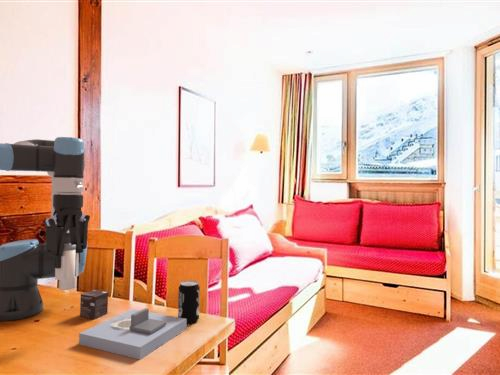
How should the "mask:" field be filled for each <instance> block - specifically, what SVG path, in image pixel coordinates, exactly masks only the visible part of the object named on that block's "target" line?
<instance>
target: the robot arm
mask: <svg viewBox="0 0 500 375" xmlns="http://www.w3.org/2000/svg"><path fill="white" fill-rule="evenodd" d="M85 152H86V149H85V141H84V139H82V138H78V137H70V136H58V137H55V139H54V140H50V139H39V138H37V139H27V140H20V141H16V142H15V143H9V142H8V143H7V142H6V143H0V171H6V172H44V173H45V172H47V175H48V176H49V177H50V178H51V200H50V202H51V203H50V205H51V206H50V213H51V214H50V217H45V218H44V219H43V223H44V226H45V243H40V241H39V240H38V239H37V238H33V239H30V238H29V239H22V240H16V241H12V242H11V241H10V242H6V243H4V244H1V245H0V322H3V321H4V322H5V321H8V322H9V321H16V320H22V319H26V318H30V317H33V316H36V315H39V314H40V313H42V312H43V311H44V301H43V299H42V298H43V297H42V296H41V295H42V294H41V293H40V290H39V287H38V280H40V279H51V278H54V279H55V280H57V281H59V280H65V256H62V255H63V249H64V244H76V254H75V278H76V277H79V275H81V274H82V273H84V272H85V266H86V261H87V260H86V259H87V254H88V253H87V252H88V228H89V221H90V218H91V216H90V215H89V214H84V213H83V211H82V208H83V207H84V194H83V192H84V186H85V185H84V183H85V182H84V181H85V179H84V177H85V175H84V171H85V169H86V168H85V167H86V160H85Z"/></svg>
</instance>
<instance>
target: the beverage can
mask: <svg viewBox="0 0 500 375" xmlns="http://www.w3.org/2000/svg"><path fill="white" fill-rule="evenodd" d="M200 287H201V286H200V284H199V282H198V280H197V281H196V280H188V279H187V280H182V281H181V282H179V286H178V291H177V292H178V297H177V298H178V299H177V300H178V301H177V303H178V305H177V306H178V307H177V308H178V309H177V317H179V318H185V319H187V325H189V324H195V323H197V322H198V320H199V318H200V296H201V295H200V294H201V293H200V290H201V288H200Z"/></svg>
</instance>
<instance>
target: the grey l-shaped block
mask: <svg viewBox="0 0 500 375" xmlns="http://www.w3.org/2000/svg"><path fill="white" fill-rule="evenodd" d="M139 310H140V311H138V312H136V313H134V314H132V315H131V326H130V330H135V331H140V332H144V333H149V334H151V333H153V332H155V331H156V330H158V329H160V328H162V327H163V326H165V325H166V322H165V321H159V320H154V319H149V312H150V309H149V308H147V307H146V308H143V309H139Z"/></svg>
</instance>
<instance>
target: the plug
mask: <svg viewBox="0 0 500 375" xmlns="http://www.w3.org/2000/svg"><path fill="white" fill-rule="evenodd" d="M75 254H76V244H64V249H63V255H62V256H65V280H58V290H60V291H68V290H73V289H75V288H76V276H75Z"/></svg>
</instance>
